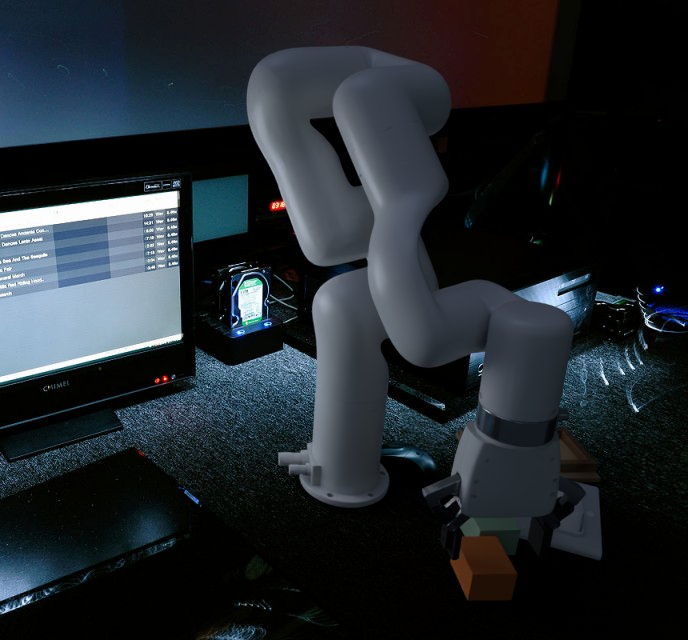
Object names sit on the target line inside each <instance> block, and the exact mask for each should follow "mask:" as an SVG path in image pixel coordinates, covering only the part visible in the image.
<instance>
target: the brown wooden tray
mask: <svg viewBox="0 0 688 640" xmlns="http://www.w3.org/2000/svg"><path fill="white" fill-rule="evenodd" d="M464 429H465V427H461V428H460V429H459V431H456V432H455V437H456V439H457V441H458V443H459V442H460V439H461V436H462V434H463V431H464ZM556 432H557V433H558V436H559V443H560V476H562V477H564V478H567V479H569V480H571V481H574V482H578V483H582V484H584V483H600V482H601V476H600V475H599V474H598V473H597V469H598V467H599V463H598V461H596V459H594V457H593V456H592V454H590V453H589V452H588V451H587V449H586V448H585V447H584V446H583V445H582V443H580V442H579V440H578V439H577V438H576V437H575V436H574V435H573V434H572V433H571V431H570V430H569V429H568V428H567V427H565V426H564V427H563V426H562V427H561V426H560V427H558V426H557V430H556Z"/></svg>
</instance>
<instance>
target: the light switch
mask: <svg viewBox="0 0 688 640" xmlns="http://www.w3.org/2000/svg"><path fill="white" fill-rule="evenodd" d="M573 482H574V481H573ZM576 483H578V482H576ZM578 484H579V485H580V486H581V487H582V488H583V489H584V490H585V492H586V495H585V496H584V497H583V499H582V500H581V501H580V502H579V503H578V504H577V505H575V506H574V512H573V513H571V514H570V515H568V516H567V517H566V518H564V519H563V520H561V521H560V523H561V525H560V527H559V528H557V529H554V531H553V536H552V540H551V545H550V546H549V547H550V548H554V549H556V550H561V551H564V552H568V553H571V554H575V555H578V556H582V557H586V558H589V559H593V560H595V561H601V559H602V557H603V543H602V542H603V541H602V522H601V507H600V506H601V505H600V490H599V488H598V487H597V486H594V485H590V484H586V483H578ZM561 496H563V492H561V491H559V490H558V495H557V498H558V497H561ZM514 520H515V521H516V523H517V524H518V526H519V528H520V529H521V532H520V536H519V539H521V540H522V539H523V540H525V541H528V533H529V528H530V523H531V517H515V518H514Z"/></svg>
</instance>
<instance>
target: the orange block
mask: <svg viewBox="0 0 688 640" xmlns="http://www.w3.org/2000/svg"><path fill="white" fill-rule="evenodd" d="M511 561H512V560H510V558H509V555H507V554H506V552H505V551H504V549H503V547H502V545H501V543H500V542H499V540H498V538H497V536H464V535H462V540H461V547H460V554H459V559H457V560H452V559H451V558H450V561H449V562H450V565H451V567H452V569H453V571H454V574H455V576H456V578H457V580H458V582H459V585H460V586H461V589H462V591H463V593H464V596H465V598H466V600H467V601H469V602H470V601H471V602H473V601H475V602H476V601H477V602H479V601H481V602H482V601H489V602H490V601H513V600H512V599H513V596H514V591H515V588H516V583H517V579H518V572H517V570H516V569H515V566H514V564H513V563H512V562H511Z"/></svg>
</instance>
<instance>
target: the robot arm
mask: <svg viewBox="0 0 688 640" xmlns="http://www.w3.org/2000/svg"><path fill="white" fill-rule="evenodd" d="M451 95H452V94H451V91H450V88H449V85H448V83H447V81H446V80H445V78H444V77H443V75H442V74H440V72H439V71H437V70H436V69H434V67H431V66H430V65H428V64H425V63H422V62H419V61H415V60H412V59H409V58H406V57H401V56H398V55H395V54H392V53H388V52H386V51H382V50H380V49H376V48H372V47H368V46H362V45H332V46H303V47H302V46H301V47H292V48H291V47H289V48H285V49H281V50H278V51H275V52H272V53H269V54H268V55H266V56H265V57H263V58H262V59H260V61H259V62H258V63H257V64H256V66H255V67H254V68H253V69H252V71H251V74H250V76H249V79H248V84H247V89H246V112H247V113H246V114H247V119H248V123H249V127H250V130H251V133H252V135H253V138H254V141H255V142H256V145H257V146H258V148H259V150H260V151H261V153H262V155H263V157H264V159H265V160H266V162H267V164H268V166H269V167H270V170H271V171H272V174H273V176H274V177H275V178H274V179H275V181H276V183H277V186H278V190H279V192H280V195H281V198H282V200H283V201H282V202H283V204H284V207H285V209H286V212H287V214H288V217H289V219H290V223H291V225H292V228H293V231H294V234H295V236H296V239H297V241H298V244H299V247H300V248H301V251H302V253H303V255H304V256H305V257H306V259H307V260H308V261H309V262H310V263H311V264H313V265H316V266H319V267H331V266H332V267H333V266H337V265H341V264H342V265H343V264H346V263H350V262H351V263H352V262H355V261H358V260H362V259H366V260H367V266H365V267H362V268H358V269H354V270H350V271H347V272H343V273H341V274H339V275H336V276H333V277H332V278H330V279H328V280H326V282H324V283H323V284H322V285H320V287H319V289H318V290H317V291H316V293H315V295H314V297H313V301H312V306H311V309H312V310H311V313H312V322H313V328H314V333H315V334H314V335H315V342H316V343H315V345H316V373H315V391H314V392H315V393H314V394H315V395H314V408H313V410H314V411H313V426H312V442H307V444H306V449H300V451H299V452H291V451H289V452H288V451H284V452H283V451H282V452H281V451H280V452H278V455H277V457H278V466H280V467H288V475H289V476H290V475H291V476H292V475H294V476H295V475H297V476H298V475H299V481H300V484H301V486H302V487H303V489H304V490H305V491H306V492H307V493H308V494H309V495H310V496H312V497H313V498H315V499H317V500H318V501H320V502H322V503H325V504H327V505H330V506H334V507H339V508H346V509H348V508H349V509H357V508H364V507H368V506H372V505H374V504H376V503H378V502H380V501H381V500H382V499H383V498H384V497H385V496H386V495H387V493H388V490H389V488H390V476H389V472H388V470H387V469H386V468H385V466H384V465H383V464H382V463H381V457H382V449H383V439H384V438H383V437H384V431H385V420H386V413H387V411H386V410H387V404H388V403H387V402H388V395H389V385H390V370H389V366H388V362H387V360H386V358H385V356H384V354H383V352H382V349H381V347H382V346H381V345H382V343H383V342H384V341H385V340H387V339H389V340H390V342H391V344H392V345H393V346H394V348H395V350H396V351H397V352H398V353H399V355H400V356H402V358H403V359H405V361H407V362H408V363H410V364H412V365H414V366H417V367H420V368H427V369H428V368H437V367H438V368H439V367H441V366H444V365H446V364H449V363H451V362H455V361H457V360H460V359H462V358H465V357H467V356H469V355H472V354H479V353H480V354H481V353H484V357H483V364H482V371H481V378H480V386H479V392H478V399H477V407H476V415H475V419H474V420H469V421H468V422H467V423H466V425H465V427H464V428H465V429H464V431H463V434H462V436H461V439H460V442H459V441H458V445H457V449H456V452H455V455H454V459H453V462H452V463H453V464H452V468H451V472H450V476H448V477H446V478H444V479H441V480H438V481H436V482H434V483H432V484H430V485H427V486H425V487H423V488H422V490H421V494H422V495H423V498H424V500H425V503H427V505H428V507H429V509H430V511H431V512H432V515H433V516H434V517H435V519H437V520H438V521H439V522H440V523H441V532H440V544H441V546H442V549H444V550H446V551H447V554H448V556H449V557H450V560H451V559H452V560H457V559H459V554H460V547H461V540H462V536H463V532H462V530H461V528H460V527H461V526H462V525H463V524H464V523H465V522H466V521H467V520H469V519H470V518H471V517H473V518H515V517H531V523H530V528H529V533H528V540H527V542H528V544H529V545H530V547H531V548H532V551H534V553H535V554H536V556H537V557H538V558H539V559H546V558H547V556H548V550H549V547H550V545H551V540H552V536H553V531H554V529H557V528H559V527H560V525H561V523H560V521H561V520H563V519H564V518H566V517H567V516H568V515H570V514H571V513H573V512H574V506H575V505H577V504H578V503H579V502H580V501H581V500H582V499H583V497H584V496H585V495H586V492H585V490H584V489H583V488H582V487H581V486H580V485H579V484H578V483H576V482H573V481H571V480H569V479H567V478H564V477H562V476H560V443H559V436H558V433H557V432H556V430H557V427H558V424H559V423H561V422H567V421H569V420H570V411H569V409H568V408H567V407H560V406H561V400H562V396H563V392H564V391H563V390H564V385H565V381H566V376H567V371H568V366H569V360H570V355H571V351H572V344H573V338H574V332H575V325H574V321H573V319H572V317H571V315H569V314H568V313H567V311H565V310H563V309H562V308H560V307H557V306H555V305H552V304H548V303H545V302H539V301H534V300H533V301H532V300H528V299H527V298H524V297H522V296H520V295H518V294H517V293H515V292H513V291H511V290H509V289H507V288H505V287H504V286H502V285H500V284H497V283H496V282H493V281H490V280H485V279H472V280H467V281H464V282H461V283H458V284H454V285H451V286H447V287H444V288H441V289H440V286H439V281H438V278H437V274H436V272H435V270H434V266H433V264H432V261H431V259H430V256H429V254H428V250H427V248H426V246H425V243H424V240H423V238H422V235H421V231H422V228H423V226H424V224H425V222H426V219H427V218H428V216H429V214H430V213H431V212H432V211H433V209H435V207H436V206H438V205H439V203H440V202H441V201H443V200H444V199H445V196H446V195H447V193H448V191H449V188H450V183H449V179H448V176H447V174H446V171H445V170H444V168H443V165H442V164H441V163H442V162H441V160H440V159H439V156H438V154H437V153H436V152H437V151H436V150H435V148H434V145H433V143H432V141H431V138H430V137H431V136H433V135H435V134H436V133H438V132H439V131H440V130H442V129H443V127H444V126H445V124H446V123H447V121H448V119H449V118H450V114H451V110H452V96H451ZM328 117H334V121H335V123H336V127H337V128H338V131H339V133H340V136H341V138H342V141H343V143H344V145H345V147H346V150H347V152H348V155H349V157H350V159H351V162H352V164H353V166H354V168H355V171H356V173H357V177H358V178H359V180H360V183H361V185H357V186H353V185H352V184H351V183H350V182H349V180H348V177H347V175H346V173H345V172H344V169H343V165H342V162H341V160H340V157H339V154H338V153H337V152H336V150H335V148H334V147H333V146H332V144H331V143H330V142H329V140H328V139H327V138H326V137H325V136H324V135H323V134H321V132H319V131H318V130H317V129H316V128H315V127H314V126H312V124H311V119H317V118H319V119H320V118H328ZM558 490H559V491H561V492H563V496H561V497H558V498H557V495H558ZM450 495H451V496H453V497H452V498H451V499H450V500H449V501H447V503H445V504H443V503H442V502H441V499H443V498H446V497H448V496H450ZM460 509H461V510H460Z"/></svg>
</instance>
